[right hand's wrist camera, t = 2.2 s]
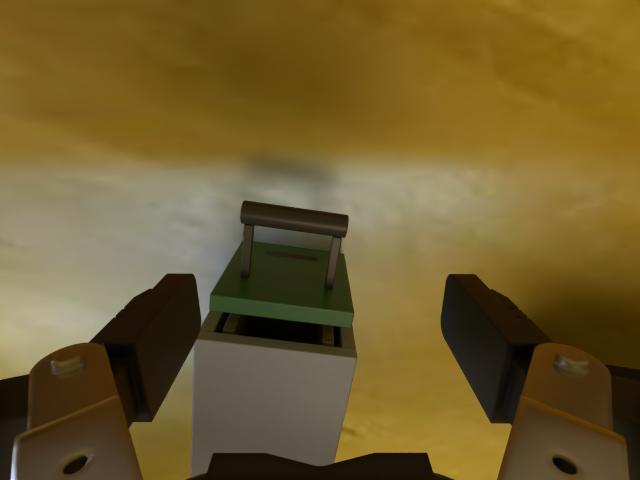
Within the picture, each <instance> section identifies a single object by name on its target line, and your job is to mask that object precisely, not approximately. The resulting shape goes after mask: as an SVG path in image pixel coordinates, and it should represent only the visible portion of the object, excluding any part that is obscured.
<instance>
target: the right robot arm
mask: <svg viewBox="0 0 640 480" xmlns="http://www.w3.org/2000/svg"><path fill="white" fill-rule="evenodd" d="M200 328H201V314H200V307H199V299H198V292H197V285H196V279H195V276H194V275H193V274H166V275H165V276H164V277H163V278H162V279H161V281H160V282H159V283H158V284H157V285H156V286H155V287H154V288H153V289H148V290H146V291H145V292H143V293H141V294H139V295H137V296H136V297H134V298H133V299H132V300H131V301H130V302H129V303H128V304H127V305H126V306H125V307H124V309H122V310H121V311H120V312H119V313H118V314H117V315H116V318H113V319H112V320H111V321H110V322H109V323H108V324H107V325H106V326H105V327H104V328H103V329H102V330H101V331H100V332H99V333H98V334H97V335H96V336H95V337H94V338H93V339H92V340H91V341H90V342H89V343H80V344H75V345H71V346H67V347H65V348H62V349H59V350H57V351H55V352H53V353H51V354H49V355H48V356H46V357H44V358H43V359H42V360H40V361H39V362H38V363H37V364H36V365H35V366H34V367H33V368H32V370H31V371H30V374H28V375H23V376H18V377H13V378H8V379H3V380H0V480H143V478H142V475H141V471H140V467H139V464H138V460H137V457H136V453H135V450H134V446H133V443H132V439H131V435H130V432H129V427H130V426H131V424H132V422H152V420H153V419H154V417H155V415H156V413H157V411H158V409H159V408H160V406H161V404H162V402H163V400H164V398H165V397H166V395H167V393H168V391H169V389H170V387H171V385H172V384H173V382H174V380H175V378H176V376H177V374H178V373H179V371H180V369H181V367H182V365H183V363H184V362H185V360H186V358H187V356H188V354H189V352H190V351H191V349H192V347H193V345H194V343H195V341H196V340H197V338H198V335H199V332H200ZM441 329H442V334H443V337H444V339H445V340H446V342H447V344H448V346H449V348H450V349H451V351H452V353H453V355H454V357H455V359H456V360H457V362H458V364H459V366H460V368H461V369H462V371H463V373H464V375H465V377H466V379H467V380H468V382H469V384H470V386H471V388H472V389H473V391H474V393H475V395H476V397H477V399H478V400H479V402H480V404H481V406H482V408H483V409H484V411H485V413H486V415H487V417H488V418H489V420H490V422H491V423H510V424H511V425H512V428H511V432H510V435H509V439H508V443H507V446H506V450H505V453H504V457H503V460H502V464H501V467H500V471H499V475H498V478H497V480H640V381H639V380H634V379H629V378H624V377H620V376H615V375H611V374H610V371H609V370H608V368H607V367H606V366H605V365H604V364H603V363H602V362H601V361H600V360H598V359H597V358H596V357H594V356H592V355H591V354H589V353H587V352H585V351H583V350H581V349H578V348H575V347H573V346H569V345H565V344H560V343H553V342H552V341H551V340H550V339H549V338H548V337H547V336H546V335H545V334H544V333H543V332H542V331H541V330H540V329H539V328H538V327H537V326H536V325H535V324H534V323H533V322H532V321H531V320H530V319H529V318H527V316H526V315H525V314H524V313H523V312H522V311H521V310H518V307H517V306H516V305H515V304H514V303H513V302H512V301H511V300H510V299H509V298H507V297H506V296H504V295H502V294H500V293H498V292H497V291H495V290H493V289H489V288H488V287H487V286H486V285H485V284H484V283H483V282H482V281H481V280H480V279H479V278H478V277H477V276H476V275H475V274H449V275H448V277H447V279H446V285H445V292H444V299H443V306H442V313H441ZM186 480H454V479H451V478H449V477H446V476H443V475H440V474H437V473H433V471H432V467H431V464H430V461H429V458H428V455H427V453H372V454H368V455H364V456H360V457H357V458H353V459H349V460H345V461H341V462H337V463H333V464H329V465H325V466H315V465H311V464H307V463H303V462H299V461H295V460H291V459H287V458H283V457H280V456H276V455H272V454H268V453H213V455H212V458H211V461H210V464H209V467H208V471H207V473H203V474H200V475H197V476H194V477H191V478H189V479H186Z"/></svg>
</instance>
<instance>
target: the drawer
mask: <svg viewBox="0 0 640 480" xmlns="http://www.w3.org/2000/svg"><path fill="white" fill-rule="evenodd" d="M240 221H241V223H242V224H245V225H244V234H243V241H242V243H241V244H240V246H239V248H238V249H237V251H236V253H235V254H234V256H233V258H232V259H231V261H230V263H229V264H228V266H227V268H226V269H225V271H224V273H223V274H222V276H221V278H220V279H219V281H218V283H217V284H216V286H215V287H214V289H213V291H212V292H211V294H210V307H209V309H210V311H218V312H226V313H230V314H229V317H228V319H227V321H226V323H225V326H224V328H223V333H224V334H233V335H241V336H249V337H258V338H266V339H274V340H282V341H291V342H299V343H307V344H315V345H324V346H332V347H334V331H333V326H339V327H347V328H351V326H352V321H353V317H354V309H353V303H352V298H351V292H350V286H349V280H348V275H347V269H346V263H345V257H344V254H342V253H339V251H340V246H341V240H342V238H341V237H343V238H345V236H346V233H347V229H348V215H344V214H337V213H330V212H322V211H315V210H308V209H301V208H294V207H287V206H280V205H273V204H266V203H259V202H252V201H244V202H243V204H242V207H241V215H240ZM254 225H256V226H263V227H271V228H278V229H285V230H292V231H300V232H307V233H314V234H321V235H329V236H333V237H332V243H331V249H330V252H327V251H320V250H312V249H305V248H297V247H290V246H283V245H275V244H268V243H260V242H253V235H254Z"/></svg>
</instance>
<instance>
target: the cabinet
mask: <svg viewBox="0 0 640 480" xmlns="http://www.w3.org/2000/svg"><path fill="white" fill-rule="evenodd" d="M229 314H230V313H226V312H218V311H209V313H208V315H207V317H206V319H205V320H204V322H203V324H202V326H201V328H200V332H199V335H198V338H197V340H196V341H195V343H194V370H193V410H192V450H191V477H194V476H197V475H200V474H203V473H207V471H208V467H209V464H210V461H211V458H212V455H213V453H268V454H272V455H276V456H280V457H283V458H287V459H291V460H295V461H299V462H303V463H307V464H311V465H315V466H325V465H329V464H333V463H334V461H335V456H336V452H337V447H338V443H339V438H340V434H341V429H342V425H343V420H344V416H345V411H346V407H347V402H348V398H349V394H350V389H351V385H352V380H353V376H354V371H355V367H356V362H357V353H356V347H355V340H354V334H353V327H352V326H351V328H347V327H339V326H333V331H334V347H332V346H324V345H315V344H307V343H299V342H291V341H282V340H274V339H266V338H258V337H249V336H241V335H233V334H224V333H223V328H224V326H225V323H226V321H227V319H228V317H229Z"/></svg>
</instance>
